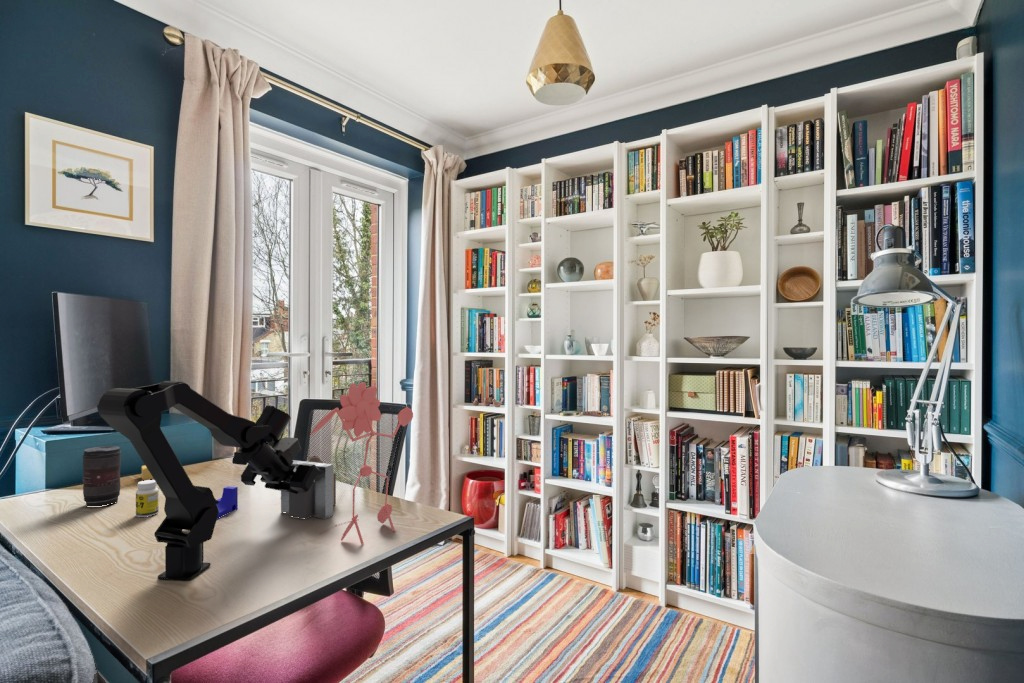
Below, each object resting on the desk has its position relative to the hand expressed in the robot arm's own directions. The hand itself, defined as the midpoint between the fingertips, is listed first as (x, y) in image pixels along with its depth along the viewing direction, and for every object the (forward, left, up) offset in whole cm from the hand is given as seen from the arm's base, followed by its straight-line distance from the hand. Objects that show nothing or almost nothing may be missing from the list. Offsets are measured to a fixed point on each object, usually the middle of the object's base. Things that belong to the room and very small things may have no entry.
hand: (296, 491), depth 130 cm
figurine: (-7, -18, -7) cm, 21 cm away
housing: (+4, -1, -7) cm, 8 cm away
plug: (+6, -1, -7) cm, 9 cm away
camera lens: (+7, +57, -7) cm, 58 cm away
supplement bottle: (0, +39, -7) cm, 40 cm away
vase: (+28, +8, -7) cm, 30 cm away
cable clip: (0, +22, -7) cm, 23 cm away
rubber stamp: (+34, +61, -7) cm, 70 cm away
